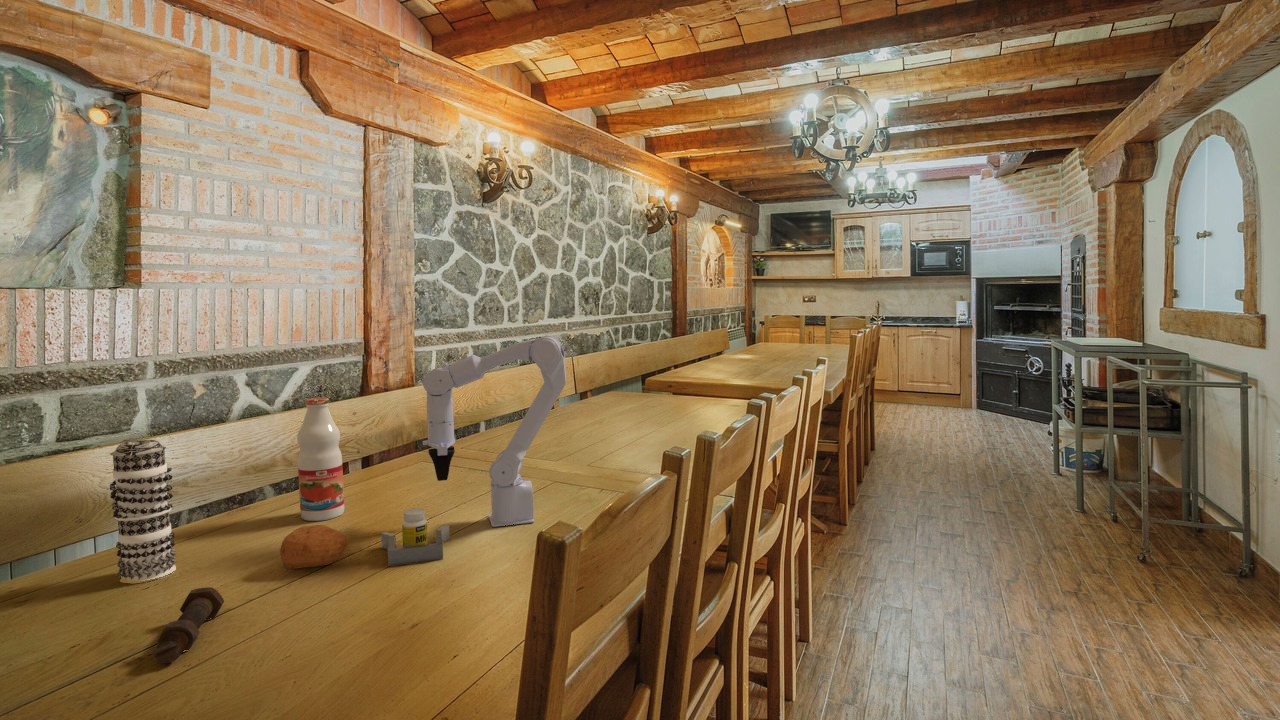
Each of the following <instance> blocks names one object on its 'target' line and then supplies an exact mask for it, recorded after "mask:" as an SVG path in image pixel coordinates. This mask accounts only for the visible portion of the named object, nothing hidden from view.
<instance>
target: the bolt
mask: <svg viewBox="0 0 1280 720" xmlns="http://www.w3.org/2000/svg"><path fill="white" fill-rule="evenodd" d="M224 602H225V600H224V597H223V596H222V594H221V593H220V592H219V591H218V590H217V589H216V588H214V587H211V586H210V587H200V588H199V587H198V588H195V589H191V590H190V592H189V593H188V594H187V596H186V597H185V600H184V601H183V603H182V605H181V607H180V608H179V611H180V612H181V613H182V614H181V615H180V616H179V617H178V619H177V620H174V621H171V622H169V621H168V623H167V624H166V625H165V627H164V629H163V630H162V632H161V633H160V635H159V637H158V639H157V641H156V644H157V646H156V647H155V649H154V651H153V657H154V659H155V660H156V662H158V663H162V664H171V663H174V662H175V661H176V660H177V659H179V658H180V656H181V655H182V654H183V653H182V652H183V651H184V650H189V649H190V648H191V649H192V647H193V646H194V644H195V642H196V640H197V638H198V637H199V635H200V634H201V631H200V628H201V627H202V625H203V623H204V622H205V621H206V620H205V619H210V618H214V619H215V618H216V617H217V615H218V614H219V611H220V610H221V608H222V607H223V605H224ZM215 616H216V617H215ZM192 645H193V646H192ZM191 649H190V650H191ZM190 650H189V651H190Z"/></svg>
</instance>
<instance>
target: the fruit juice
mask: <svg viewBox="0 0 1280 720" xmlns="http://www.w3.org/2000/svg"><path fill="white" fill-rule="evenodd" d="M329 406H330V398H328V397H311V398H307V399H305V407H306V413H305V416H304V419H303V422H302V424H301V427H300V429H299V430H298V432H297V437H296V440H297V444H298V447H299V453H298V455H297V456H298V457H297V472H298V487H299V488H298V489H299V490H298V491H299V493H298V494H299V508H300V509H299V510H300V516H301V519H302V520H305V521H307V522H320V521H326V520H327V521H328V520H331V519H335V518H337V517H340V516H341V515H343V514H344V511H345V493H344V489H345V487H344V472H343V469H344V468H343V455H342V450H341V449H340V447H339V445H340V442H341V441H340V440H341V431H340V428H339V426H337V424H336V423H335V421H334V418H333V416H332V414H331V412H330V409H329Z"/></svg>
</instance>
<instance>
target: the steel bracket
mask: <svg viewBox="0 0 1280 720" xmlns="http://www.w3.org/2000/svg"><path fill="white" fill-rule="evenodd" d="M380 539H381V541H380V542H381V548H382V549H386V550H387V564H388V566H387V567H393V566H400V565H407V564H408V565H409V564H416V563H423V562H424V563H425V562H431V561H439V560H444V550H443V547H444V545H443V543H445V542H447V541H449V540H450V525H449V524H448V525H447V524H444V525H442V526H441V527H438V528H437V529H435V543H427V544H426V545H418V546H410V547H403V546H401V547H396V546H397V544H396V543H397V541H396V539H397V538H396V534H394V533H390V532H387V531H384V532H381V533H380Z"/></svg>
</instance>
